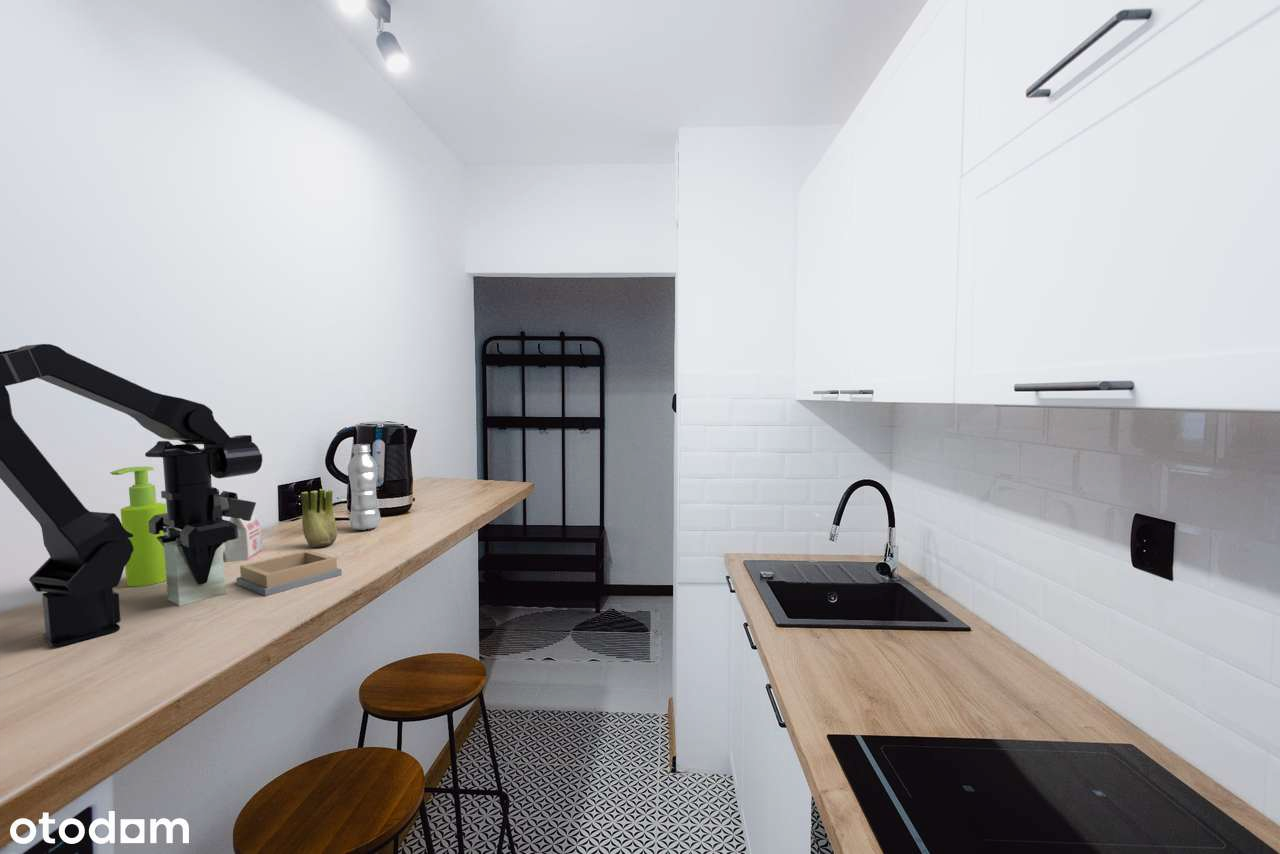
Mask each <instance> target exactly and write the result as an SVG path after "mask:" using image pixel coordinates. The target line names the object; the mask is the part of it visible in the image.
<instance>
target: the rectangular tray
mask: <svg viewBox="0 0 1280 854" xmlns="http://www.w3.org/2000/svg"><path fill="white" fill-rule="evenodd" d="M239 570H240V577H236V579H235V580H236V581H235V582H236V585H238V586H241V587H244V588H246V589H248V590H250V591H253V592H254V593H257V594H261V595H262V596H265V597H267V596H269V595H270V596H271V595H274V594H277V593H280V592H281V593H282V592H285V591H289V590H291V589H295V588H299V587H304V586H307V585H310V584H315V583H317V582H321V581H324V580H328V579H332V578H335V577H339V576H342V569H341V568H339V567H338V565H337V557H333V556H330V555H326V554H322V553H320V552H315V551H312V550H309V549H308V550H304V551H300V552H295V553H291V554H286V555H283V556H277V557H274V558H269V559H266V560H265V559H264V560H259V561H256V562H251V563H247V564H244V565H240V566H239Z"/></svg>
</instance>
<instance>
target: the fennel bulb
mask: <svg viewBox="0 0 1280 854" xmlns="http://www.w3.org/2000/svg"><path fill="white" fill-rule="evenodd" d="M318 494H319V495H318ZM309 495H310V497H309ZM333 495H334V494H333V490H331V489H330V490H329V489H325V488H324V489H323V488H320V489H319V493H318V490H312V491H310V492H308V491H304V492H303V491H302V492H300V497H301V505H302V509H301V510H302V516H301V517H302V518H301V519H302V532H303V535H304V538H305V540H306V542H307V545H308V546H309V547H313V548H325V547H329V546H331V545H332V544H334V543H335V541H336V540H337V537H338V530H337V522H336V518H335V513H334V510H333Z"/></svg>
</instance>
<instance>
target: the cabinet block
mask: <svg viewBox="0 0 1280 854" xmlns="http://www.w3.org/2000/svg"><path fill="white" fill-rule="evenodd" d="M178 544H182V542H181V539H180V538H176V541H172V542H167V543H164V553H165V566H166V579H167V580H166V589H167V600H168V601H170V602H172V603H174V604H175V605H178V606H183V605H187V604H191V603H195V602H200V601H203V600H206V599H210V598H214V597H218V596H221V595H225V594H227V593H226V592H227V591H226V581H225V579H226V578H225V566H224V552H223V544H222V545H221V546H220V547H219V548H217V550H216V552H215V555H214V558H213V562H212V565H211V569H210V573H209V576H208V580H207V583H205V584H200V585H199V584H197V582H196V580H195V579H194V577H193V575H192V573H191V571H190V570H189V568H188V566H187V564H186V562H185V560H184V558H183V557H182V555H181V553H180V551H179V549H178V548H177V545H178Z"/></svg>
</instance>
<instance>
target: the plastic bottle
mask: <svg viewBox="0 0 1280 854" xmlns="http://www.w3.org/2000/svg"><path fill="white" fill-rule="evenodd" d="M371 452H372V451H371V444H369V443H359V444H352V454H353V456H352V458H351V460H350V461H349V462H348V464H347V474H348V480H349V484H350V491H351V492H350V494H351V495H350V496H351V503H350V504H351V505H350V513H349V523H350V527H351V528H352V529H353V530H357V531H367V530H366V529H368V530H371V529H374V528H377V527H378V526H379V524H380V522H381V514H380V513H381V512H380V509H379V505H378V497H377V480H378V479H377V477H378V470H379V468H378V467H379V466H378V464H377V461H376V460H375V458H374V457H373V456H372V455H371V454H370V453H371Z"/></svg>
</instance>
